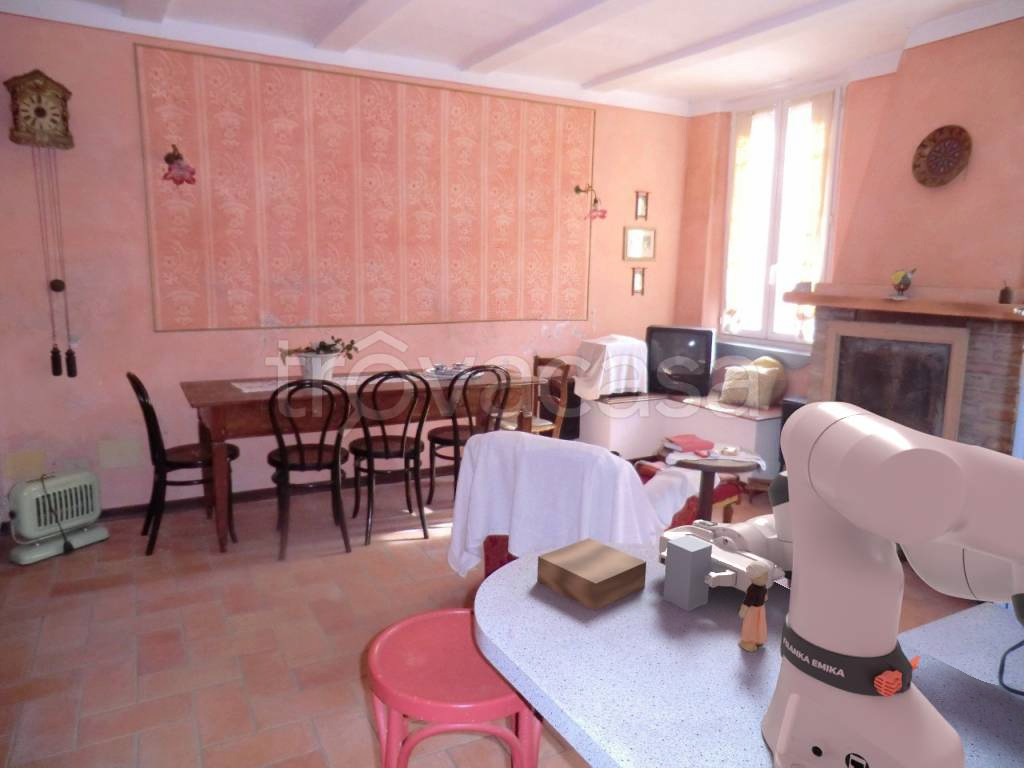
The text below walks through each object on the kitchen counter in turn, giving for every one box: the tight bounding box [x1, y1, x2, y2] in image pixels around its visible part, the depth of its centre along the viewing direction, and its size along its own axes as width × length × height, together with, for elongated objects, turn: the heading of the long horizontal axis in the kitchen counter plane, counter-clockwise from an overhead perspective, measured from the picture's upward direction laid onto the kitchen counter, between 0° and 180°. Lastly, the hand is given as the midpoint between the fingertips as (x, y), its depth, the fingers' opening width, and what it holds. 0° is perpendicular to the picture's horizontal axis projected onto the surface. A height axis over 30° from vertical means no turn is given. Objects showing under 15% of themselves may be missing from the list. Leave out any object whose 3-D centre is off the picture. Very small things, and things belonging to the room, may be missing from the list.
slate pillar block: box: [663, 535, 712, 612], centre depth 112 cm, size 5×5×10 cm
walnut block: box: [536, 537, 647, 612], centre depth 117 cm, size 13×13×5 cm
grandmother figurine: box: [737, 561, 770, 653], centre depth 100 cm, size 8×4×13 cm, turn 147°
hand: (684, 570), depth 111 cm, fingers open, 8 cm apart
